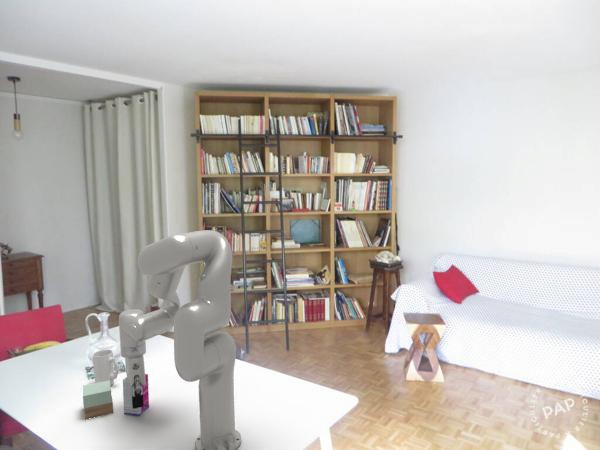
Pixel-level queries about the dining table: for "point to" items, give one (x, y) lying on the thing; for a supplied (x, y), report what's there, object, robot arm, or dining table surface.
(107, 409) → the walnut base block
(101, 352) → the mug
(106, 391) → the sage top block
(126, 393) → the supplement box
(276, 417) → the dining table surface
